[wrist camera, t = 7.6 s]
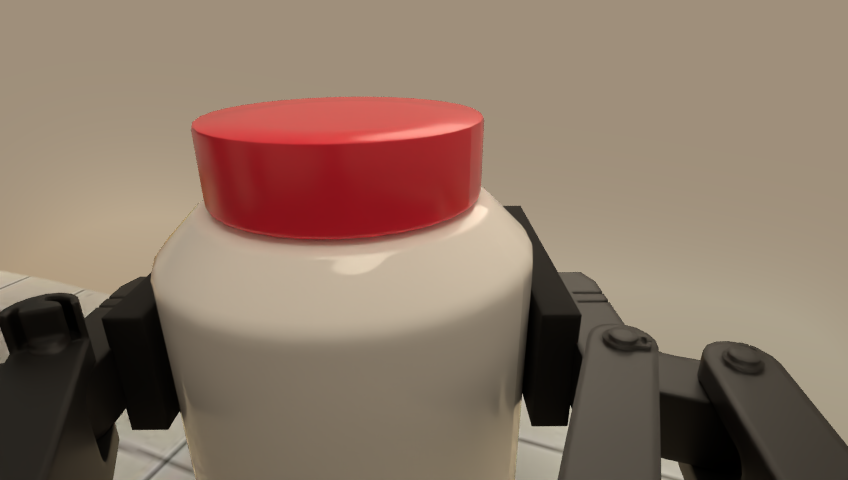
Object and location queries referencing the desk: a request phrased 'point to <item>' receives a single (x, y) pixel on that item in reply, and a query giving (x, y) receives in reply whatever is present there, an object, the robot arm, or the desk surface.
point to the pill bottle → (346, 296)
